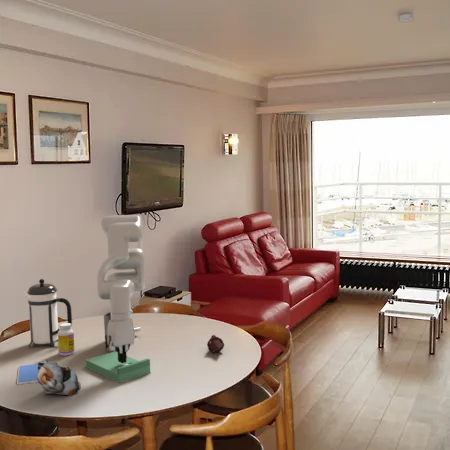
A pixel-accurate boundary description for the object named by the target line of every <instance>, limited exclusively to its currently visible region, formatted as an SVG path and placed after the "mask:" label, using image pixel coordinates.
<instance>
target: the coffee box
mask: <svg viewBox="0 0 450 450" xmlns="http://www.w3.org/2000/svg"><path fill="white" fill-rule="evenodd" d="M109 320H111V312H110V311H109V312H107V313H106V314H104V315H103V325H104V342H105V344H104V345H105V347H104V348H105V351H106V352H111V353H112V352H115V350H110V349H109V346H110V345H108V343H107V331H108V323H109ZM130 349H131V346H130V347H129V348H128V350H130Z"/></svg>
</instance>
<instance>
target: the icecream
mask: <svg viewBox="0 0 450 450" xmlns="http://www.w3.org/2000/svg"><path fill="white" fill-rule="evenodd" d="M206 346H207V349H208V350H209V352H212V353H213V354H217V353H220V352H221V351H222V350H223V349H224V348H225V343H224V340H223V338H220V337H219V336H217V335H215V334H212V335H211V337H210V338H209V339H208V341H207V343H206Z"/></svg>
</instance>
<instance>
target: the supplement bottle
mask: <svg viewBox="0 0 450 450" xmlns="http://www.w3.org/2000/svg"><path fill="white" fill-rule="evenodd" d="M59 329H60V330H59V331H58V339H57V342H58V343H57V344H58V345H57V346H58V347H57V348H58V354H59V355H60V356H71V355H73V354H74V353H75V331H74V330H73V329H72V326H71V323H68V322H64V323H63V322H62V323H60V324H59Z"/></svg>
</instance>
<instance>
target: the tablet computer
mask: <svg viewBox="0 0 450 450" xmlns="http://www.w3.org/2000/svg"><path fill="white" fill-rule="evenodd" d="M37 375H38V363H35V364H27V365H25V364H24V365H20V366H18V369H17V378H16V385H17V386H21V385H28V384H37V383H38V377H37ZM38 384H39V383H38Z"/></svg>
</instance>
